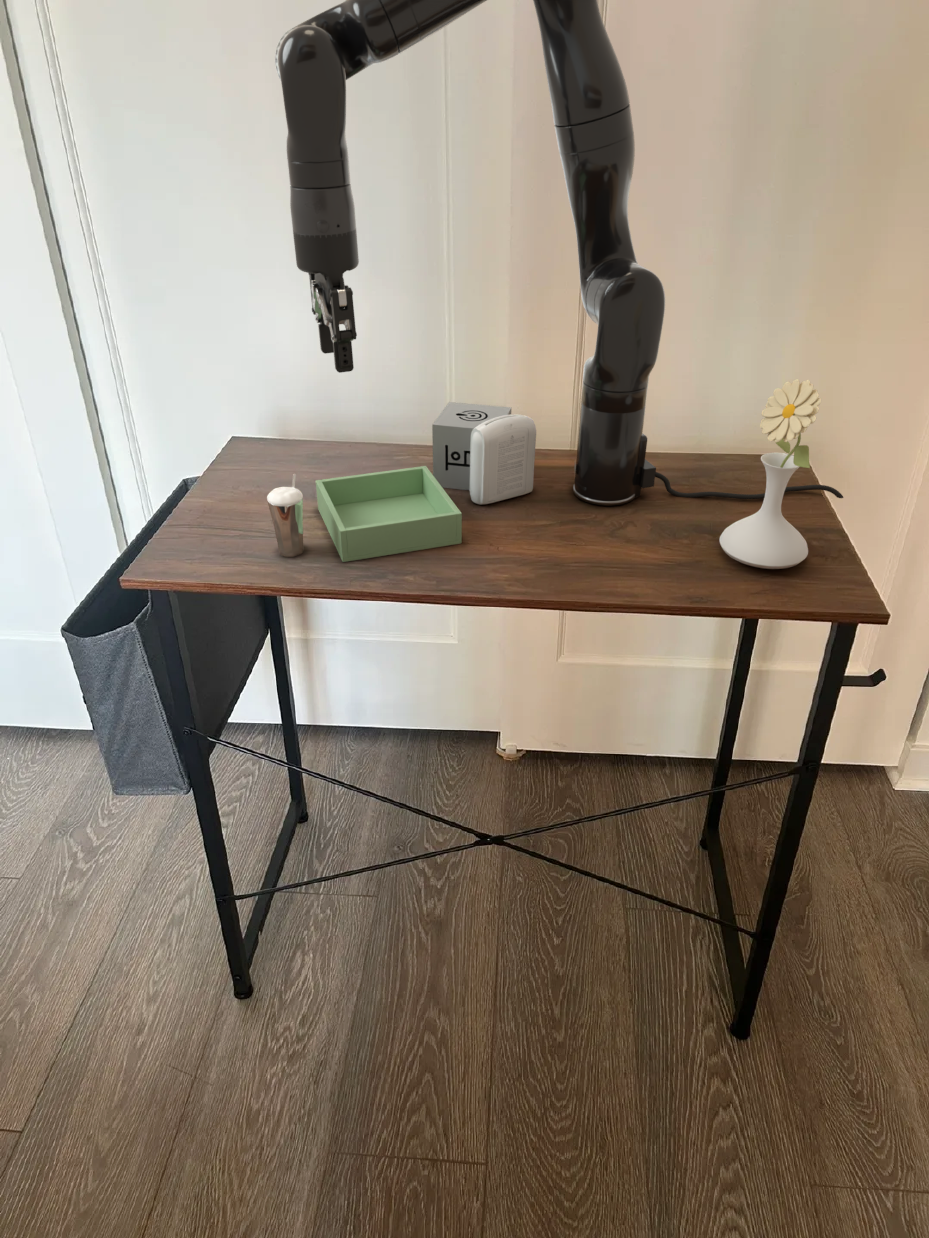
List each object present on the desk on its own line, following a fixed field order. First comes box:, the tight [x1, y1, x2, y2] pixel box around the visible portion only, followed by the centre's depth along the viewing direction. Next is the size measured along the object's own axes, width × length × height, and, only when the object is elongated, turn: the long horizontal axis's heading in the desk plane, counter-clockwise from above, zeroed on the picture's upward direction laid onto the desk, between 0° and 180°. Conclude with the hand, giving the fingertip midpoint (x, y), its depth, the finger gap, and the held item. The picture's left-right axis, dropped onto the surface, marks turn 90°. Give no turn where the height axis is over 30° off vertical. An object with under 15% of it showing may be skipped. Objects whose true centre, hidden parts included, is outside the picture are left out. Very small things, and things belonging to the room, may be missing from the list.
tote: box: [315, 465, 463, 563], centre depth 126 cm, size 17×17×5 cm
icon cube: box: [431, 401, 512, 491], centre depth 138 cm, size 10×10×10 cm
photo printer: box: [469, 413, 537, 506], centre depth 132 cm, size 10×4×12 cm, turn 123°
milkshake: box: [266, 473, 304, 558], centre depth 118 cm, size 5×5×10 cm
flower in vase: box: [719, 378, 822, 570], centre depth 113 cm, size 13×11×25 cm
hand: (336, 361), depth 116 cm, fingers open, 8 cm apart
